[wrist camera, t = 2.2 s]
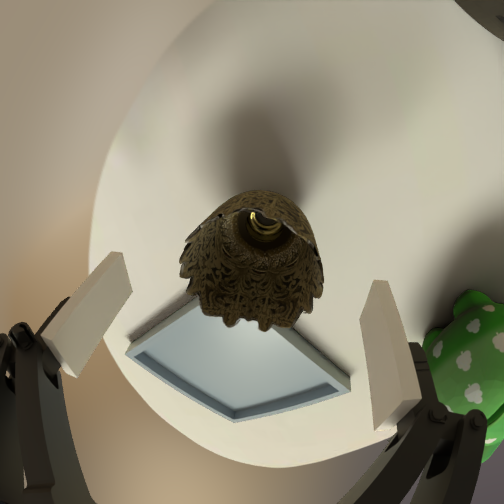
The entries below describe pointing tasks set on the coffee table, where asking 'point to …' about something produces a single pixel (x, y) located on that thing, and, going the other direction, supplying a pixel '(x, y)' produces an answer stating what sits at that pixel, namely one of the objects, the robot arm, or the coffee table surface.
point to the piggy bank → (471, 362)
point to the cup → (254, 262)
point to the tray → (237, 365)
